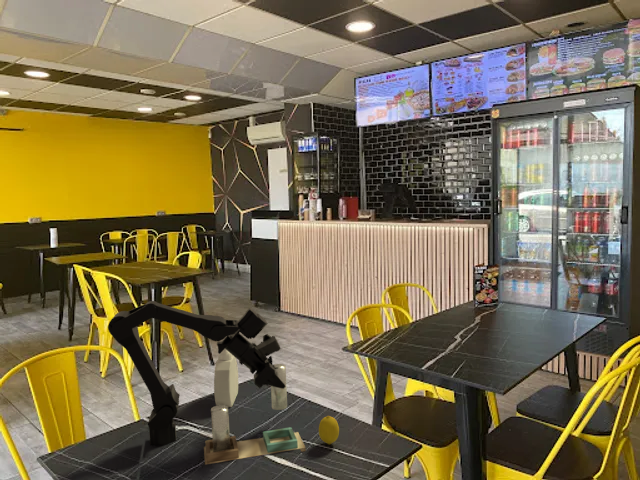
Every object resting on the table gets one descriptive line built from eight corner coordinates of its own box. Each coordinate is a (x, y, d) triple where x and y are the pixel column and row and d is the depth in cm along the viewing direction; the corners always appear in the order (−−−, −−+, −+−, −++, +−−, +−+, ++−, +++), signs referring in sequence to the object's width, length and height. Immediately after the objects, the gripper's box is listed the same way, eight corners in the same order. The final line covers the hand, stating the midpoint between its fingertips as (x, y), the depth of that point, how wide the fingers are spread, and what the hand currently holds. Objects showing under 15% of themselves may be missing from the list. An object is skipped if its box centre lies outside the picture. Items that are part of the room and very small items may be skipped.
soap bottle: (231, 410, 159) (228, 349, 157) (215, 411, 159) (211, 350, 157) (240, 390, 175) (237, 335, 173) (225, 391, 175) (222, 335, 173)
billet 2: (272, 410, 142) (271, 369, 140) (270, 404, 146) (269, 364, 145) (288, 408, 143) (286, 368, 141) (285, 402, 147) (284, 363, 146)
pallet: (205, 468, 125) (204, 456, 125) (204, 450, 134) (203, 440, 134) (305, 451, 132) (305, 440, 132) (298, 435, 141) (297, 425, 140)
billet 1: (213, 458, 128) (211, 413, 127) (212, 449, 132) (210, 406, 131) (231, 455, 129) (228, 410, 128) (229, 447, 134) (227, 404, 132)
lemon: (322, 450, 132) (321, 421, 131) (316, 441, 137) (315, 413, 136) (342, 447, 133) (341, 418, 133) (336, 437, 139) (335, 410, 138)
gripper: (265, 338, 132) (307, 374, 135) (260, 320, 150) (297, 353, 153) (236, 369, 131) (279, 405, 134) (234, 348, 150) (273, 380, 153)
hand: (283, 384), depth 144 cm, fingers closed on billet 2, 4 cm apart
